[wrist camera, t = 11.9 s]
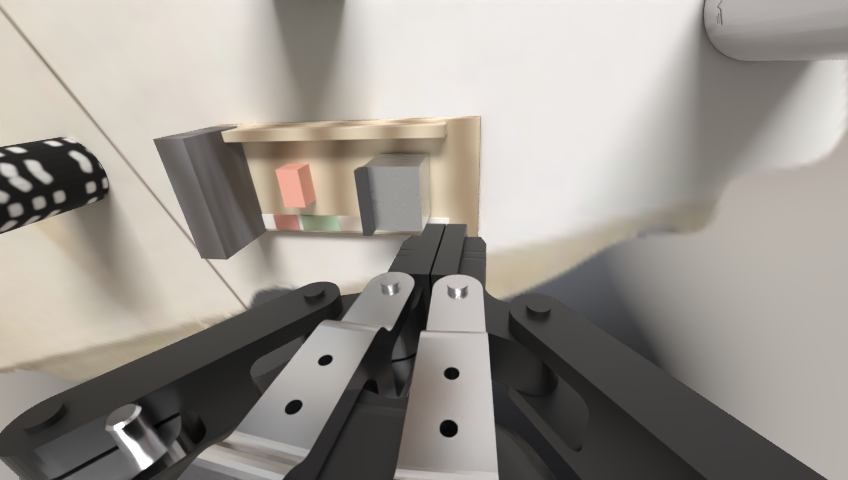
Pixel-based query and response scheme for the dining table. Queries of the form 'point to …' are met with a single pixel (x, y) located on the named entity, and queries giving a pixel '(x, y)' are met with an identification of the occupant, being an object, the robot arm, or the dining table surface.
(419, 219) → the carriage
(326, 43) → the dining table surface
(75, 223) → the dining table surface
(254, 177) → the beige long open tray
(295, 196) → the pink eraser
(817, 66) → the dining table surface
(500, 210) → the dining table surface
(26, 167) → the white-spotted black cylinder
